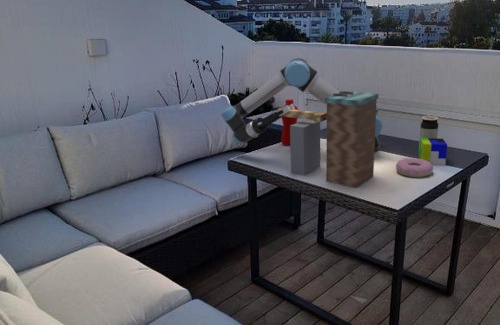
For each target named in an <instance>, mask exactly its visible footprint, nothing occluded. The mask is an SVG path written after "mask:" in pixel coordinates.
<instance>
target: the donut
mask: <svg viewBox="0 0 500 325" xmlns="http://www.w3.org/2000/svg"><path fill="white" fill-rule="evenodd" d="M433 166H434V165H431V163H430V162H428V161H426V160H423V159H419V158H415V157H410V158H402V159H400V160H398V161H397V162H396V163H395V169H396V171H397V173H399V174H400V175H402V176H405V177H409V178H424V177H426V176H430V174H432V172H433V170H434V168H433Z"/></svg>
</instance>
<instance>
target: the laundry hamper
mask: <svg viewBox="0 0 500 325" xmlns="http://www.w3.org/2000/svg"><path fill="white" fill-rule="evenodd" d="M338 91H339V93H333V95H332V96H329V97H326V98H325V103H327V105H326V112H327V120H326V166H325V167H326V177H325V178H326V182H328V183H332V184H333V183H334V184H338V185H342V186H347V187H352V188H355V189H356V188H358V187H360V186H361V185H363V184H364V183H366V182H367V181H369V180H370V179H372V178H374V169H375V168H374V167H375V152H374V149H375V126H376V106H377V100H378V99H379V95H380V94H379V93H373V92H359V91H347V90H345V91H343V90H338Z"/></svg>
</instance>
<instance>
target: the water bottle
mask: <svg viewBox="0 0 500 325" xmlns="http://www.w3.org/2000/svg"><path fill="white" fill-rule="evenodd" d="M291 104H293V106H294V108H295V109H294V110H299V109H298V106H296V105H294V99H289V98H287V99H285V104H284V106H283V107H282V108H284V107H285V106H287V105H288V106H289V105H291ZM281 122H282V127H283V128H282V132H281V144H282V146H290V125H293V124H296V123H298V118H292V117H285V116H283V117H281ZM290 147H291V146H290Z"/></svg>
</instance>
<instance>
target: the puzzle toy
mask: <svg viewBox="0 0 500 325" xmlns="http://www.w3.org/2000/svg"><path fill="white" fill-rule="evenodd" d="M419 141H420V147H419V146H418V159H423V160H426V161H428V162H430V163H431V165H432V166H446V162H447V151H448V143H447V142H446V141H445V139H444V138H438V137H437V138H420V137H419Z"/></svg>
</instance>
